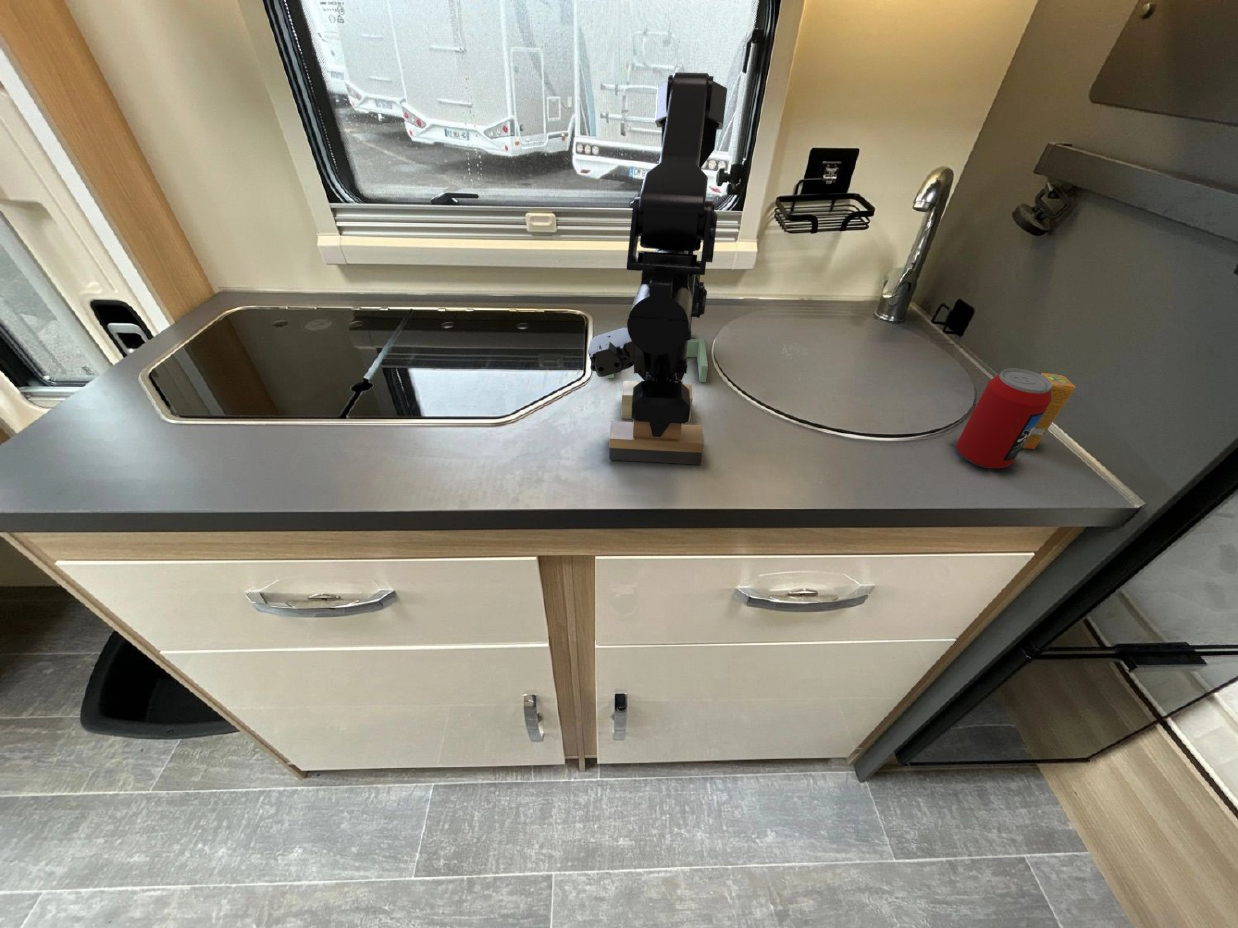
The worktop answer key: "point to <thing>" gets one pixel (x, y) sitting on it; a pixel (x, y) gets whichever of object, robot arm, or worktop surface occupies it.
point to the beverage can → (1004, 417)
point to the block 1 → (627, 398)
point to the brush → (656, 443)
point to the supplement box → (1051, 407)
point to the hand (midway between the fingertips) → (656, 428)
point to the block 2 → (690, 397)
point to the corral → (695, 350)
